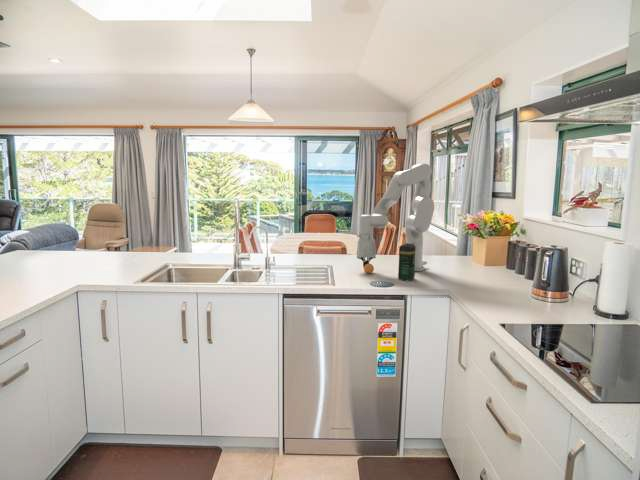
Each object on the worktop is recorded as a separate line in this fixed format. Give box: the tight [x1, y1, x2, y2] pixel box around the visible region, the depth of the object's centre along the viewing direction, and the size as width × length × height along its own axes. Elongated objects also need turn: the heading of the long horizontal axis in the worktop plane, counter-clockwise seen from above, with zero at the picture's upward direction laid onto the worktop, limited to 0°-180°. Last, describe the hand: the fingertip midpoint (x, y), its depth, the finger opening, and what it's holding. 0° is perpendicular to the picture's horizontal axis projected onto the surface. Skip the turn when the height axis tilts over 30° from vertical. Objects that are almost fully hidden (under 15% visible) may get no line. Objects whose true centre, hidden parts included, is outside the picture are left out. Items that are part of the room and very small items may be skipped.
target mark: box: [369, 280, 395, 288], centre depth 201 cm, size 12×12×1 cm
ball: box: [363, 263, 375, 274], centre depth 226 cm, size 6×6×6 cm
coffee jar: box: [397, 242, 416, 281], centre depth 211 cm, size 10×8×19 cm
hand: (366, 268), depth 232 cm, fingers closed
